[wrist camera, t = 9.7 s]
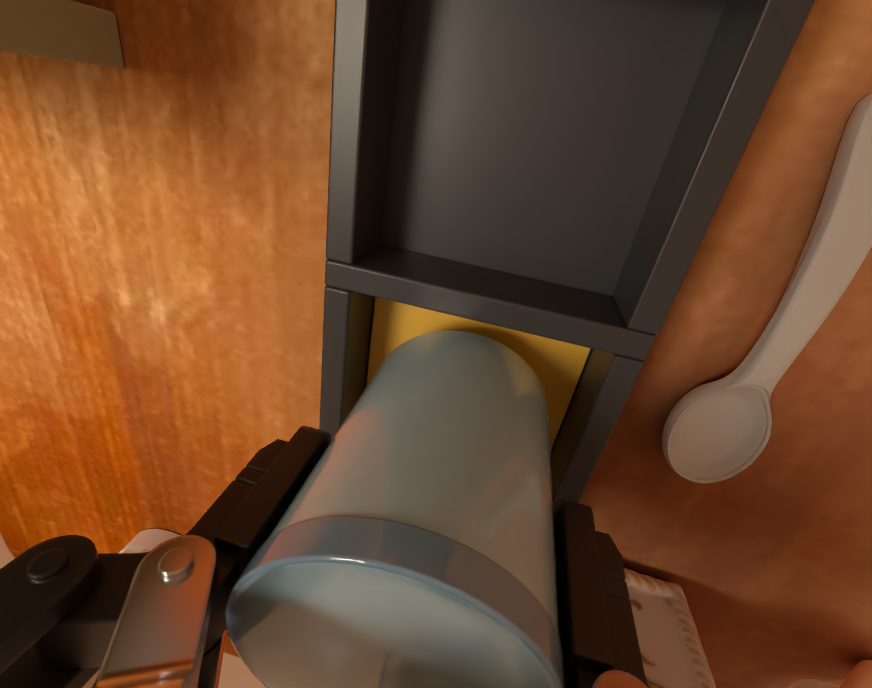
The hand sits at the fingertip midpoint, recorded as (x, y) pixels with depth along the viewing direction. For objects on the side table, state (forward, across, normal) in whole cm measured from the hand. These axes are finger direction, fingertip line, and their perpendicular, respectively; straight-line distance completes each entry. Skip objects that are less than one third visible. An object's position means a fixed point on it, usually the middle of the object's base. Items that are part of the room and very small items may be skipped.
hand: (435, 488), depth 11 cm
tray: (+6, 0, -4) cm, 7 cm away
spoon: (+6, -8, -5) cm, 12 cm away
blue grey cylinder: (+4, 0, 0) cm, 4 cm away
